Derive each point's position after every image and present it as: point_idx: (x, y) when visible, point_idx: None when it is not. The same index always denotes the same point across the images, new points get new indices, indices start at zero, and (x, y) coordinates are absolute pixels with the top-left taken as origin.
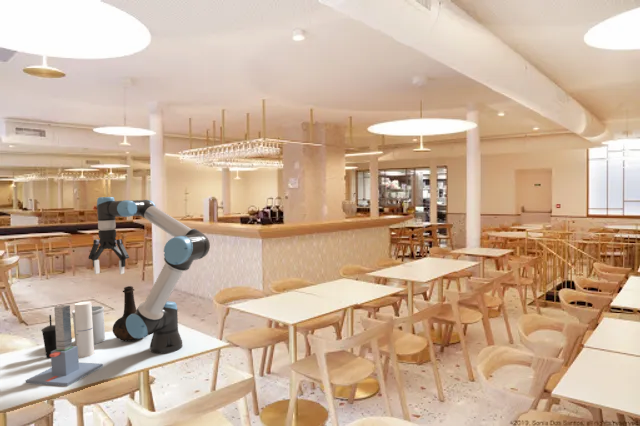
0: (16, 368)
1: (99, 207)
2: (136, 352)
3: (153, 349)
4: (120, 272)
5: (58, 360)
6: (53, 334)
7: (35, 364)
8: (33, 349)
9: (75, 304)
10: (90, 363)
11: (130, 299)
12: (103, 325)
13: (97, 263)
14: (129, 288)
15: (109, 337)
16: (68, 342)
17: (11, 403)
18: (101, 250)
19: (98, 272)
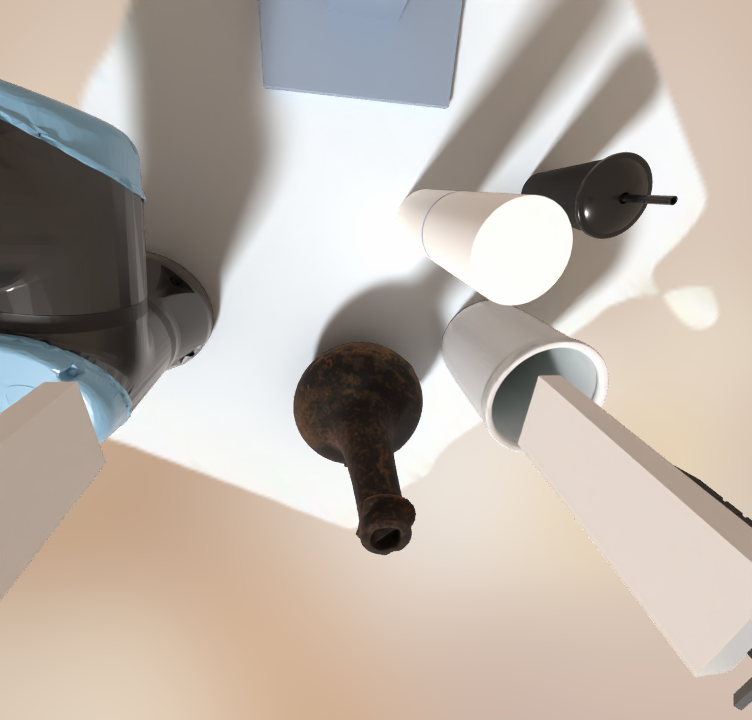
0: (609, 51)
1: None
2: (239, 257)
3: (154, 257)
4: (27, 399)
5: None
6: (577, 176)
7: (557, 102)
8: (637, 256)
9: (558, 212)
10: (320, 86)
11: (359, 474)
12: (459, 380)
13: (649, 552)
14: (368, 524)
15: (442, 384)
16: None
17: None
18: None
19: (531, 432)
